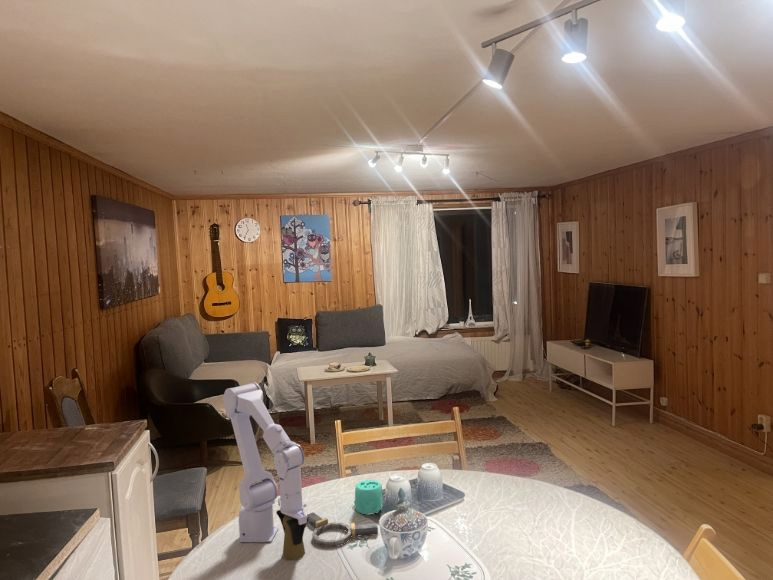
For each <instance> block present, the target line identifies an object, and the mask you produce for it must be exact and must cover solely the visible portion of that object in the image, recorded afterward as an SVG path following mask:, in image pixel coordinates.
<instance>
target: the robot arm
mask: <svg viewBox="0 0 773 580" xmlns="http://www.w3.org/2000/svg"><path fill="white" fill-rule="evenodd" d="M224 390H225V391H224V393H223V397H222V402H223V406H224V410H225V414H226V417H227V418H228V419H230V421H231V425H232V429H233V432H234V436H235V440H236V445H237V448H238V451H239V455H240V459H241V463H242V467H243V470H244V471H243V472H244V476H243V478H242V479H241V481H240V483H238V488H239V489H238V490H239V500H240V503H241V505H242V506H241V507H240V509H239V512H238V528H239V529H238V531H239V540H238V542H239V543H272V541H273V540H274V539H275V538H274V537H275V535H276V534H277V532H278V530H279V526H275V525H274V524H275V523H274V510H273V509H274V508H273V505H274V504H275V503H276V502H275V500H276V499H277V498H278V499H277V503H278V504H277V505H278V506H279V509H278V510H276V515H277V516H278V518H279V520H280V523H281V526H282V529H283V532H284V534H285V527H284V525H283V518H284V516H285V515H288V516H291V517H293V519H291V520H288V521H286V523H287V524H288V526H289V528H290V531H291V535H292V541H293V544H294V545H298V544H301V543H302V539H303V540H304V534H305V533H304V532H305V529H306V527H307V525H308V524H309V522H308V521H309V519H308V517H307V514H306V513H305V508H306V507H307V503H306V502H305V501H303V493H302V490H303V489H302V473H301V472H302V470H301V466H302V465H303V464H304V462H305V453H304V450H303V448H302V446H301V445H300V444H299V443H296V442H295V441H292V440H291V439H290V437H289V436H288V434H287V433H286V431H285V430H284V428H283V427H282V425H280V424H277V423H275V422H274V420H273V418H272V416H271V415H270V412H269V410H268V408H267V406H266V405H265V403H264V401H263V400H264V392H263V390H262V388H261V386H260V385H259V384H258V383H257V382H251V383H247V384H244V385H239V386H236V387H230V388H229V387H228V388H226V389H224ZM250 417H252V419H254V421H255V422H256V423H257V425H258V426H259V427H260V428H261V430H262V431H263V435H262V438H263V441H264V442H265V443H266V445H267V446H268V448H269V450H270V451H271V453H272V455H273V456H274V457H273V463H274V466H275V469H276V474H277V477H278V478H279V487H278V484H277V482H276V481H275V479H274V476H273V473H271V472H269V471H267V470H265V469H264V468H263V464H262V461H261V456H260V453H259V448H258V445H257V442H256V438H255V433H254V431H253V427H252V423H251V420H250ZM279 493H280V494H279ZM279 495H280V497H278V496H279Z"/></svg>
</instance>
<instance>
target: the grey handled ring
mask: <svg viewBox="0 0 773 580" xmlns="http://www.w3.org/2000/svg"><path fill="white" fill-rule="evenodd" d="M306 516H307V517H308V519H309V521H308V524H310V525H311V526H313V527H314V529H313V532H312V541H313V542H314V544H315V545H317V546H319V547H323V548H336V547H339V546H338V545H340V546H342V545H341V544H343V545H345V544H347V543H348V542H349V541H351V540H352V537H356V536H357V537H359V536H358V535H367V536H371V535H370V534H378V535H379V526H378V523H366V524H357V525H356V523H355V522H352V523H350V525H349V524H347V523H343V522H329V518H326V517H325V518H323V517H321V516H319V515H318V514H316V513H315V512H310V513H308V514H306ZM340 529H341V530H342V531H344V530H346V531H347V532H348V533H347V532H346V531H345V532H346V534H345V535H343V536H342V537H338V538H336V539H324V538H321V537H319V535H320V534H322V533H323V532H325V531H330V530H340ZM351 536H352V537H351ZM350 539H351V540H350ZM348 540H349V541H348ZM347 541H348V542H347ZM346 542H347V543H346ZM344 543H345V544H344Z"/></svg>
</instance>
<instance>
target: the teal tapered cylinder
mask: <svg viewBox="0 0 773 580" xmlns="http://www.w3.org/2000/svg"><path fill="white" fill-rule="evenodd" d="M354 490H355V491H354V504H355V505H354V506H355V510H356V511H357V513H358V514H360V513H361V514H360V515H363V514H368V513H376V512H378V511H380V510H381V511H382V510H383V485H382V483H381V482H379V481H378V480H374V479H366V480H365V479H364V480H362V481H359V482H357V483H356V484H355V489H354ZM381 511H380V512H381Z"/></svg>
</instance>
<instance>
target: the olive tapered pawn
mask: <svg viewBox="0 0 773 580" xmlns="http://www.w3.org/2000/svg"><path fill="white" fill-rule="evenodd" d="M291 519H293V517H291V516H288V515H285V516H284V518H283V525H284V527H285V533H284V535H283V536H284V538H283V548H282V557H283V559H285V560H290V561H294V560H298V559H301V558H302V557H304V556H305V555H306V550H305V549H306V548H305V545H304V538H303V539H302V543H301V544H298V545H294V544H293V541H292V535H291V531H290V528H289V526H288V524H287V523H286V521H288V520H291Z"/></svg>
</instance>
